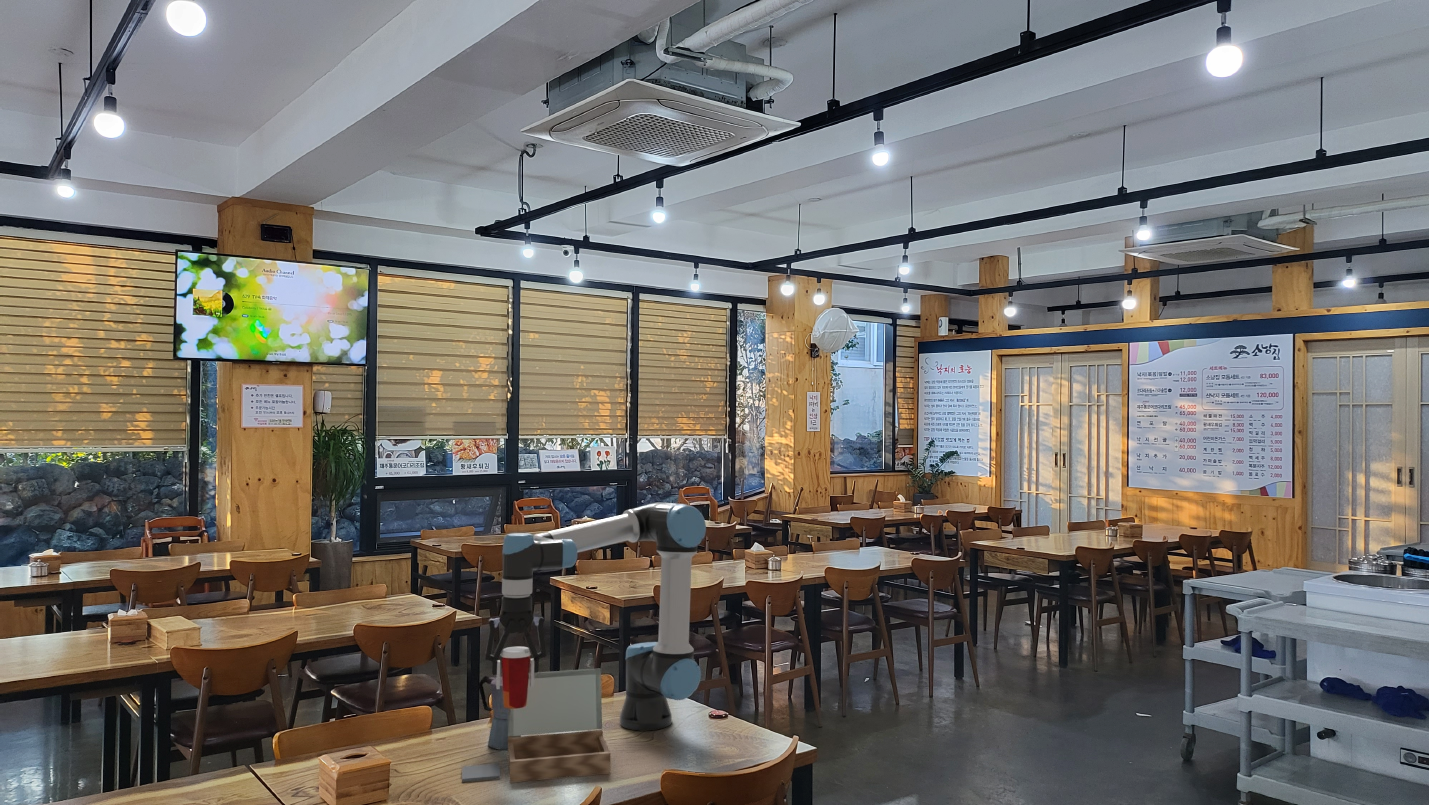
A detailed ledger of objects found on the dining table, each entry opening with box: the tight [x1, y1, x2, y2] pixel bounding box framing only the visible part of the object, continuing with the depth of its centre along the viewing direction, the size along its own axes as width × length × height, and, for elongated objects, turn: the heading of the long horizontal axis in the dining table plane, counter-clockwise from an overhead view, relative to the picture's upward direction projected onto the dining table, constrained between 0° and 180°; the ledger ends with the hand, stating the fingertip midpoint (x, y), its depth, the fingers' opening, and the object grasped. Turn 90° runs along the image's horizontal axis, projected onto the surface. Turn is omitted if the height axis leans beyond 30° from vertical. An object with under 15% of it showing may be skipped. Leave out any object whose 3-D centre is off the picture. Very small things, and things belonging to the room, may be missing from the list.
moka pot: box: [478, 675, 522, 751], centre depth 251 cm, size 10×15×20 cm, turn 78°
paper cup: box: [499, 646, 532, 709], centre depth 232 cm, size 8×8×14 cm
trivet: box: [461, 762, 501, 783], centre depth 229 cm, size 9×9×1 cm
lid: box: [508, 668, 603, 736], centre depth 244 cm, size 24×15×1 cm
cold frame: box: [507, 729, 611, 784], centre depth 234 cm, size 24×15×6 cm, turn 105°
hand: (515, 686), depth 232 cm, fingers closed on paper cup, 8 cm apart
